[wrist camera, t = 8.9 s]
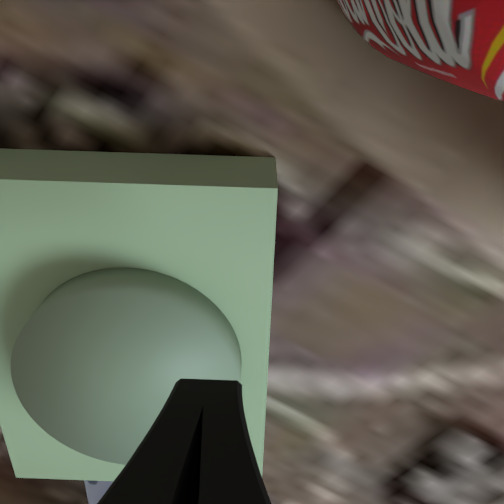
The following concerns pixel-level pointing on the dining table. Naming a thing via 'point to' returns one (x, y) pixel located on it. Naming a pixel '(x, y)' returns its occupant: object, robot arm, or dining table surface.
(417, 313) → the dining table surface
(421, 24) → the soda can
